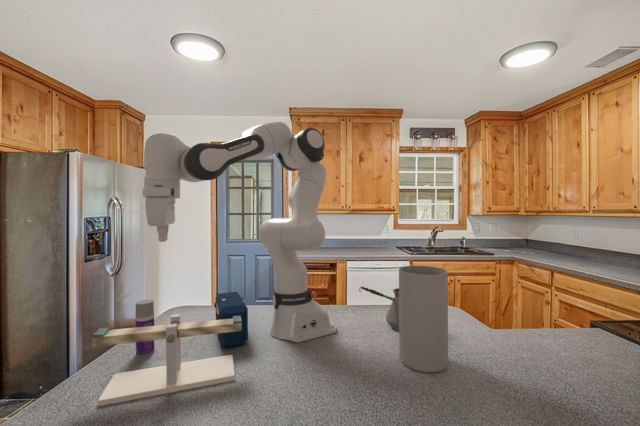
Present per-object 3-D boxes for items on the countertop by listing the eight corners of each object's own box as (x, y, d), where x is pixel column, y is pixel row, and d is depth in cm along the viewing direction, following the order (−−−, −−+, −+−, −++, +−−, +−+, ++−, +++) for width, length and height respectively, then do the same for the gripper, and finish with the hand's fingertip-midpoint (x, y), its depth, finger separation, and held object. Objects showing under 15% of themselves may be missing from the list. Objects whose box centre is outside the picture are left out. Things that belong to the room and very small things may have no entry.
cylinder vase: (413, 346, 88) (412, 264, 88) (455, 361, 79) (455, 269, 79) (390, 361, 79) (390, 270, 79) (435, 380, 70) (435, 277, 70)
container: (145, 357, 83) (145, 304, 83) (131, 355, 84) (131, 303, 83) (158, 349, 87) (157, 299, 87) (144, 348, 88) (144, 299, 88)
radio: (213, 326, 105) (213, 271, 105) (238, 322, 108) (238, 268, 108) (219, 351, 86) (218, 284, 86) (249, 345, 89) (248, 281, 89)
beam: (240, 326, 79) (240, 315, 79) (241, 332, 75) (241, 321, 75) (99, 340, 68) (99, 327, 68) (91, 349, 64) (92, 335, 64)
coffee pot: (410, 320, 109) (410, 280, 109) (425, 332, 98) (425, 288, 98) (355, 323, 107) (355, 282, 107) (364, 336, 95) (363, 291, 95)
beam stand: (232, 358, 82) (231, 306, 81) (234, 380, 71) (234, 320, 71) (115, 378, 72) (114, 319, 72) (97, 406, 62) (96, 338, 62)
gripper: (157, 193, 90) (157, 238, 90) (140, 188, 71) (141, 245, 71) (179, 194, 92) (180, 237, 92) (169, 189, 73) (170, 244, 73)
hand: (163, 241), depth 81 cm, fingers closed
